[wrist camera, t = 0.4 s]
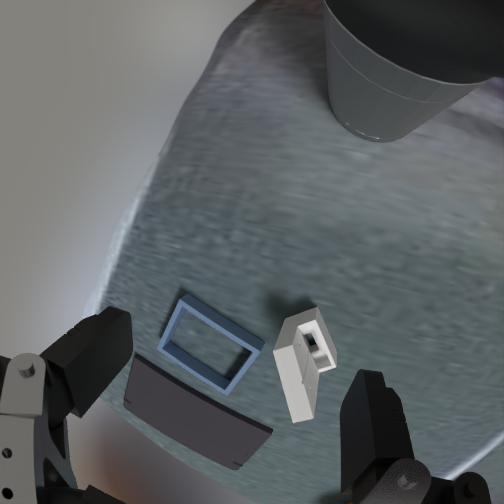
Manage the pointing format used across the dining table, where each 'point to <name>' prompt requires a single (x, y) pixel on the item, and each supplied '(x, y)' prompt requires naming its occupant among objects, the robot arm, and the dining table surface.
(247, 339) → the blue rectangular frame
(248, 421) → the notebook
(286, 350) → the white angled block
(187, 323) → the dining table surface
